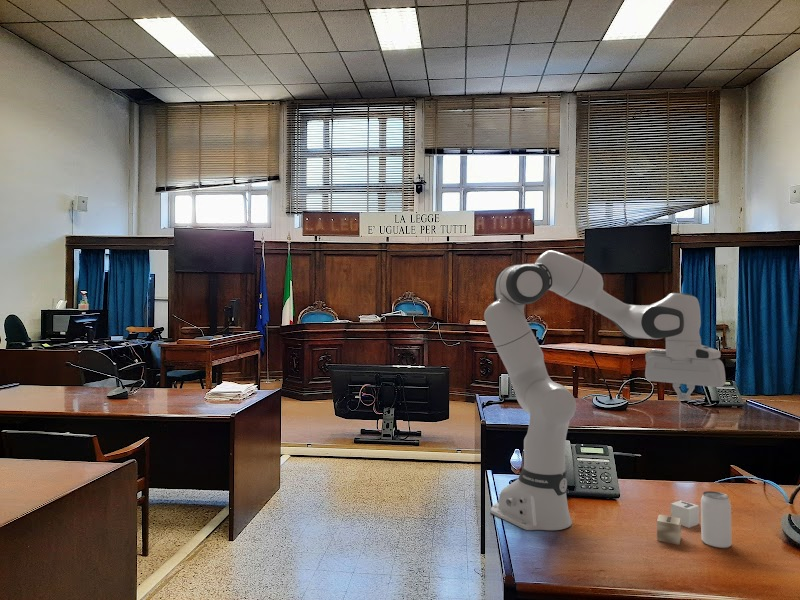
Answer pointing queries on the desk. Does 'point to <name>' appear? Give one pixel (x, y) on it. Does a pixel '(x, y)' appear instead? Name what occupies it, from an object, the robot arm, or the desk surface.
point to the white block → (685, 513)
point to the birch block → (669, 529)
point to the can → (716, 519)
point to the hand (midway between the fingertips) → (683, 399)
